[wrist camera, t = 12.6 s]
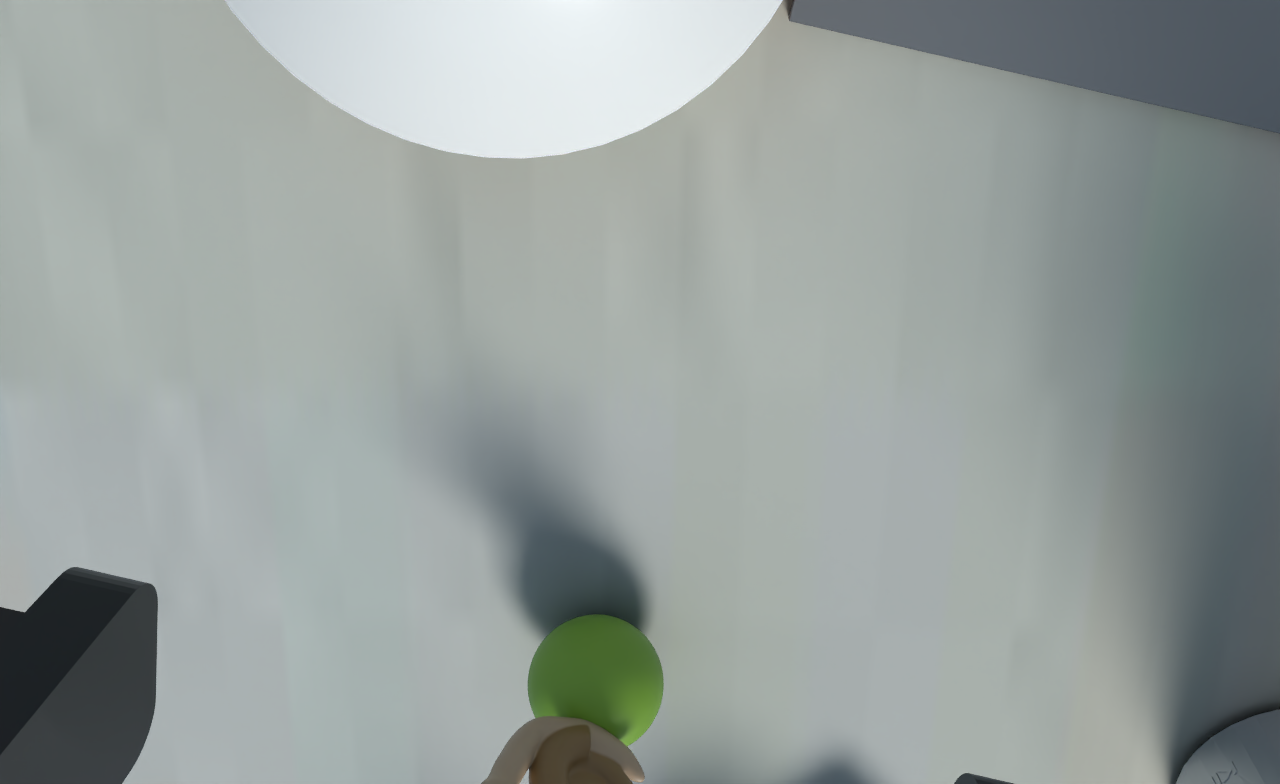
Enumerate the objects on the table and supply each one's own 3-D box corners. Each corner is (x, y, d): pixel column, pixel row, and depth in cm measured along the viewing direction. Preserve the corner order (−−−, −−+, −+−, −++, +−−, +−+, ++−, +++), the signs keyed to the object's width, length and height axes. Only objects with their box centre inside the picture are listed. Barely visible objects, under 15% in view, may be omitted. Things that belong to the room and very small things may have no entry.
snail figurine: (556, 555, 45) (505, 783, 35) (690, 625, 47) (681, 866, 36) (495, 642, 48) (430, 881, 37) (625, 706, 49) (597, 955, 38)
